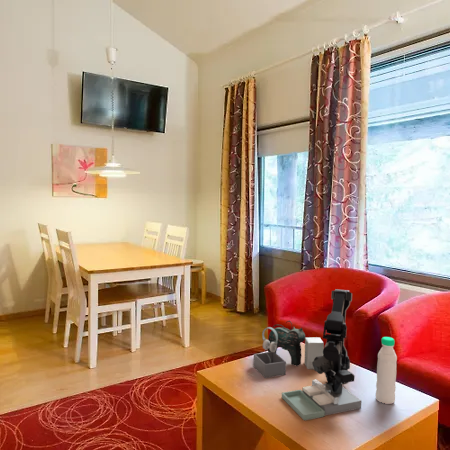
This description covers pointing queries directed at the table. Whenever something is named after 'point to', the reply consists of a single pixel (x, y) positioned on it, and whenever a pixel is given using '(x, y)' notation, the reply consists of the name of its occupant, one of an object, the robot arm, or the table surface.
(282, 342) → the power drill
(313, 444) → the table surface
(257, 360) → the gray open box
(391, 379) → the water bottle
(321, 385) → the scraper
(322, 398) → the tile
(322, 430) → the table surface
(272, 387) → the table surface
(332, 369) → the robot arm
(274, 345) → the headphones
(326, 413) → the board
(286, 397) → the bin
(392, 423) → the table surface
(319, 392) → the tile
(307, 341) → the supplement box
